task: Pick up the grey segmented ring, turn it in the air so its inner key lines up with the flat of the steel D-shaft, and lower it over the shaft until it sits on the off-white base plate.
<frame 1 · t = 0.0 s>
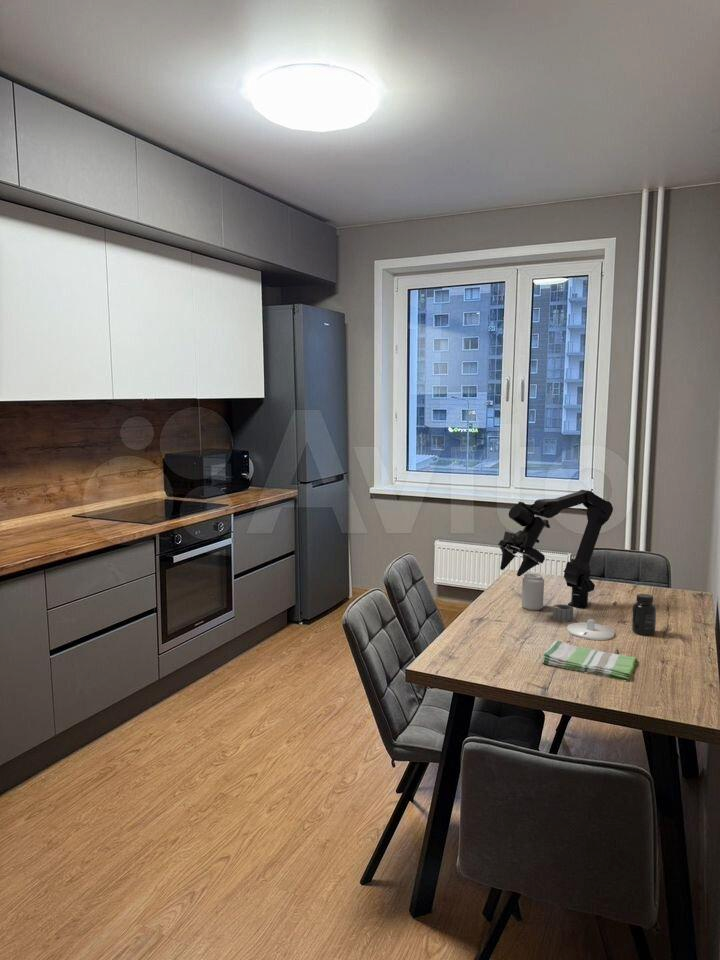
hand: (509, 572, 221), 15 cm above the table, tool tilted 35°, fingers open, 9 cm apart
grey segmented ring: (562, 618, 220), on the table
supplement bottle: (643, 633, 207), on the table
dish towel: (589, 665, 182), on the table
shaft hub: (590, 632, 206), on the table
can: (532, 608, 232), on the table
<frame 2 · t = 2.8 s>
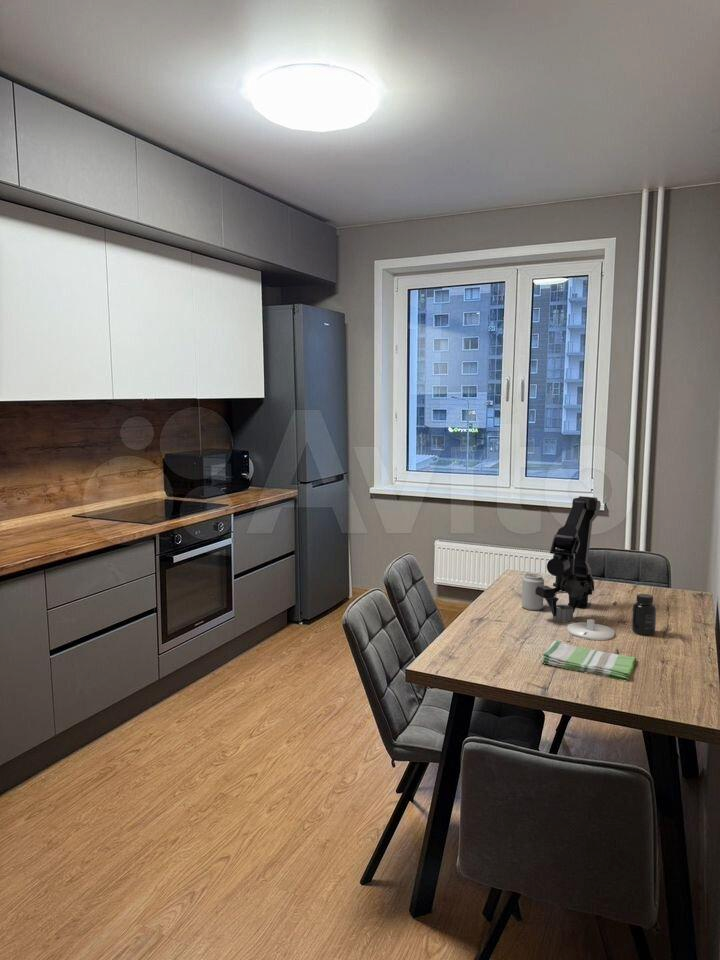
hand: (562, 615, 220), 1 cm above the table, tool pointing down, fingers closed on grey segmented ring, 6 cm apart
grey segmented ring: (562, 618, 220), on the table, touching gripper
everything else where it was.
when the fingers open (3 cm above the table, at t = 8.4 s): grey segmented ring drops 1 cm, resting on shaft hub.
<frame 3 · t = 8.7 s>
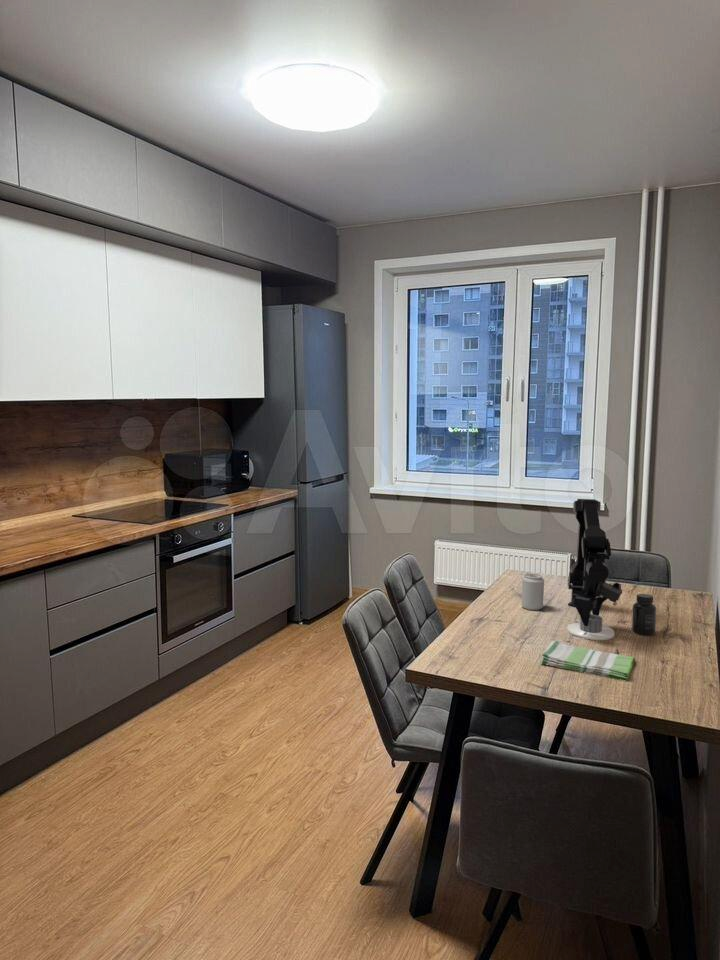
hand: (590, 622, 206), 3 cm above the table, tool pointing down, fingers open, 9 cm apart
grey segmented ring: (590, 629, 206), point 1 cm above the table, touching shaft hub
everything else where it was.
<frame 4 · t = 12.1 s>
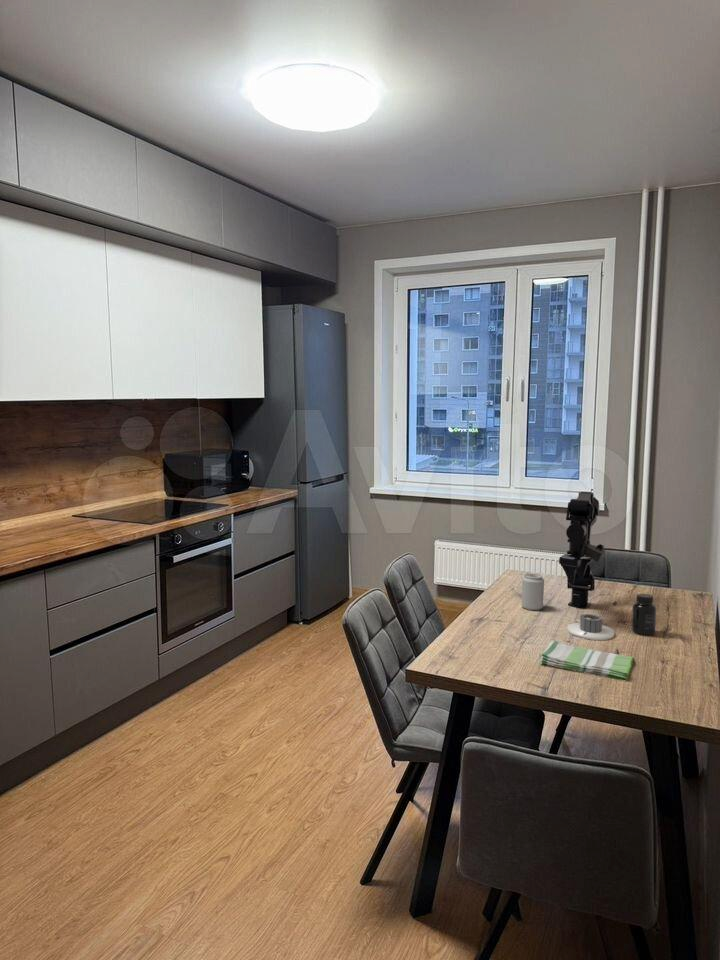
hand: (576, 581, 222), 12 cm above the table, tool pointing down, fingers open, 9 cm apart
nothing on the table moved.
at the end: grey segmented ring 0.1 cm off-centre on the shaft hub, point 1.0 cm above the shaft hub's base; grey segmented ring tilted 0°; the gripper is holding nothing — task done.
